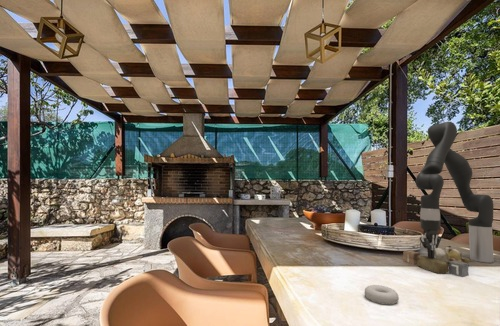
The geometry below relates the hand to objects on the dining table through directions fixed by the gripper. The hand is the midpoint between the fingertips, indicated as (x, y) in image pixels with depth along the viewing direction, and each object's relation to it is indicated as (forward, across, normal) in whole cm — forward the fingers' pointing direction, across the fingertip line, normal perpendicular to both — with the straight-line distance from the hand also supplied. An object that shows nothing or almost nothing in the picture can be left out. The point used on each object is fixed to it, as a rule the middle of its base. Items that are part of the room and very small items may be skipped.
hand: (431, 258), depth 122 cm
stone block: (+5, 0, 0) cm, 5 cm away
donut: (+6, +49, +12) cm, 51 cm away
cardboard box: (+5, -3, -11) cm, 12 cm away
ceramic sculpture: (+5, -20, -2) cm, 21 cm away
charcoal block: (+5, -4, +9) cm, 11 cm away
